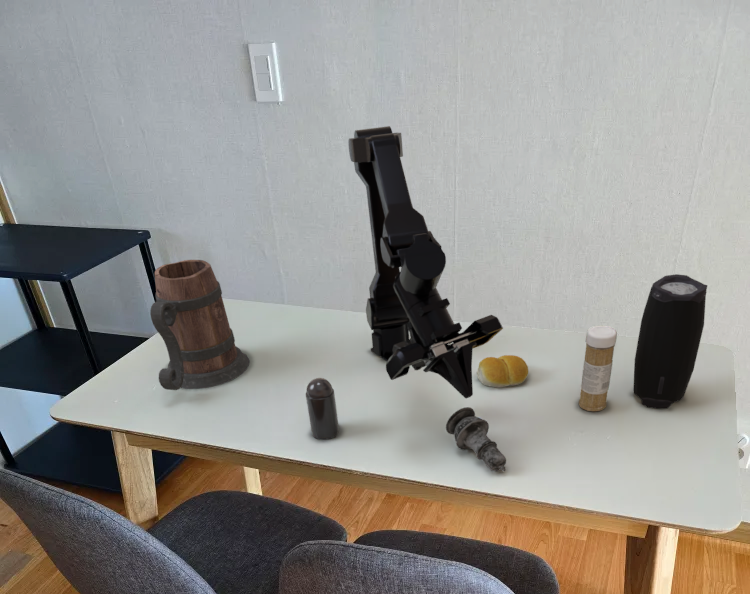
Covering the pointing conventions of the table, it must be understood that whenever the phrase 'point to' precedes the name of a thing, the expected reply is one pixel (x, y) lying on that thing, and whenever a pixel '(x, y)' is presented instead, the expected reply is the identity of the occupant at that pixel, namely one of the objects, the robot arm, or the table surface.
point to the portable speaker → (669, 340)
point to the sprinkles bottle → (597, 367)
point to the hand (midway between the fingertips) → (469, 397)
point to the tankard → (194, 327)
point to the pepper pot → (322, 409)
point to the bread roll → (502, 371)
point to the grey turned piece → (475, 437)
